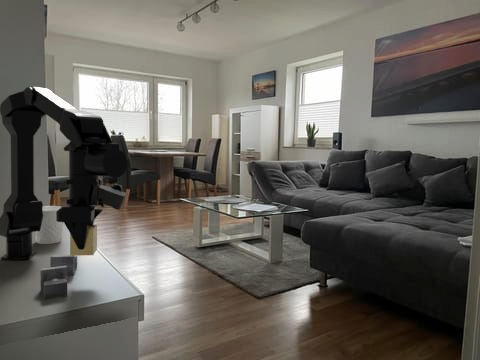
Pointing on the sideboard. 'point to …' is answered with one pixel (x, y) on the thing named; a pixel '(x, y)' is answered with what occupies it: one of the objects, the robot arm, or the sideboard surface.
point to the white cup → (49, 227)
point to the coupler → (89, 245)
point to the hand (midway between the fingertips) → (83, 245)
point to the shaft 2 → (64, 262)
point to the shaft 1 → (53, 282)
